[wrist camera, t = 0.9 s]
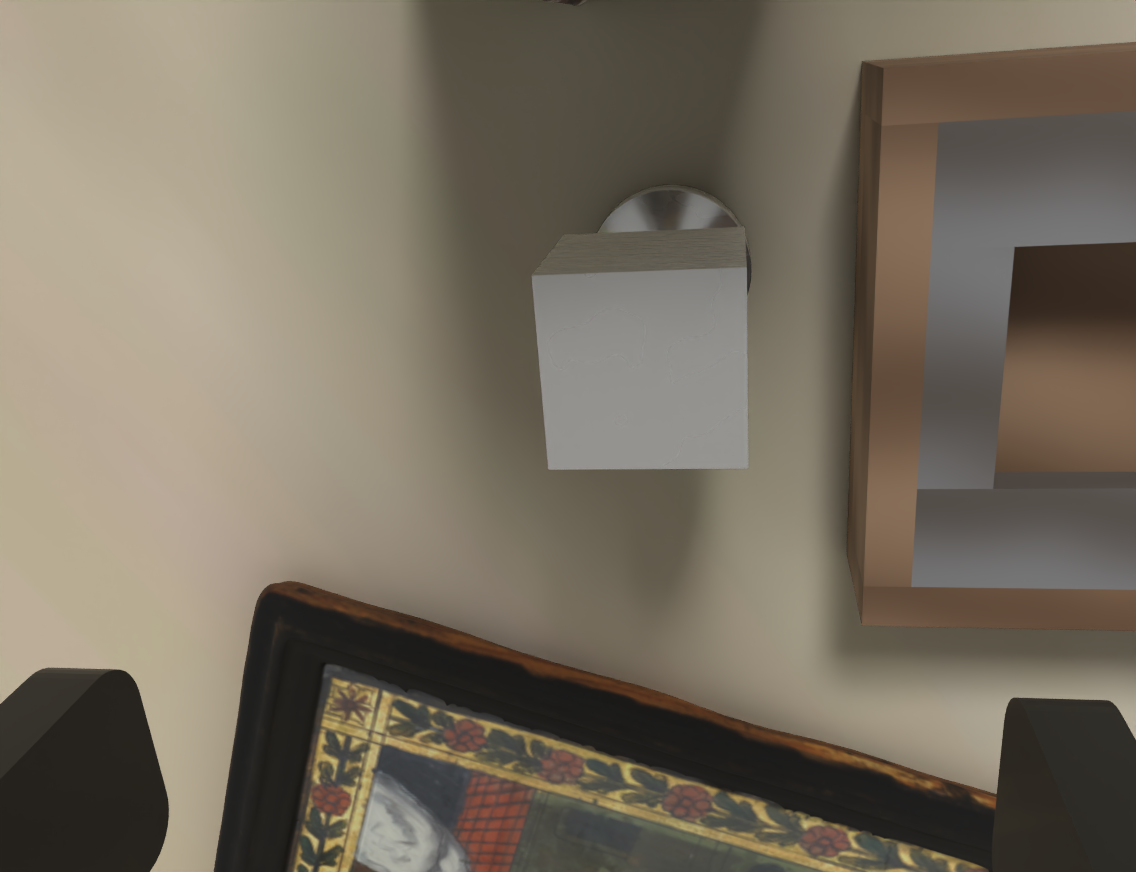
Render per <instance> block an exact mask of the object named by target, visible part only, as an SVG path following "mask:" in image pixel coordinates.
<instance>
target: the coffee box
mask: <svg viewBox="0 0 1136 872" xmlns="http://www.w3.org/2000/svg"><path fill="white" fill-rule="evenodd" d="M543 1H549V2H558V3H566V4H572V5H576V6H579V5H581V4H583V3H584V2H585V1H587V0H543Z"/></svg>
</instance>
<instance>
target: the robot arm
mask: <svg viewBox="0 0 1136 872" xmlns="http://www.w3.org/2000/svg"><path fill="white" fill-rule="evenodd" d="M168 818H169V805H168V797H167V792H166V789H165V785H164V781H163V777H162V774H161V770H160V766H159V763H158V759H157V755H156V752H155V748H154V744H153V740H152V737H151V733H150V729H149V726H148V722H147V718H146V715H145V711H144V707H143V703H142V700H141V696H140V692H139V690H138V687H137V684H136V683H135V681H134V679H133V678H132V677H131V676H130V675H129V674H128V673H127V672H125V671H122V670H113V669H78V668H45V669H41V670H39V671H37V672H35V673H34V674H33V675H32V676H30V677H29V678H28V679H27V680H26V681H25V682H24V683H23V684H21V685H20V686H19V687H18V688H17V689H16V690H15V691H14V692H13V693H12V694H11V695H10V696H9V697H7V698H6V699H5V700H4V701H3V702H2V703H1V704H0V872H150V870H151V869H152V867H153V866H154V864H155V862H156V861H157V858H158V856H159V854H160V852H161V849H162V847H163V844H164V840H165V836H166V832H167V827H168ZM992 871H993V872H1136V740H1135V738H1134V736H1133V734H1132V732H1131V731H1130V729H1129V727H1128V725H1127V723H1126V722H1125V720H1124V718H1123V716H1122V715H1121V713H1120V711H1119V710H1118V708H1117V707H1116V706H1115V705H1114V704H1113V703H1112V702H1110V701H1107V700H1074V699H1039V698H1012V699H1011V700H1010V702H1009V703H1008V706H1007V709H1006V714H1005V720H1004V729H1003V739H1002V749H1001V759H1000V769H999V778H998V788H997V798H996V808H995V818H994V828H993V838H992Z"/></svg>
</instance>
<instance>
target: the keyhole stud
mask: <svg viewBox="0 0 1136 872" xmlns="http://www.w3.org/2000/svg"><path fill="white" fill-rule="evenodd" d="M750 282H751V260H750V250H749V245H748V241H747V238H746V235H745V227H741V225H740V223H739V221H738V220H737V218H736V217H735V216H734V214H733V213H732V212H731V211H730V210H729V209H728V208H727V207H726V206H725V205H724V204H723V203H722V202H720V201H719V200H718V199H716V198H715V197H713V196H711V195H710V194H708V193H706V192H703V191H701V190H699V189H695V188H692V187H688V186H682V185H662V186H655V187H651V188H647V189H645V190H642V191H640V192H637V193H635V194H633V195H632V196H630V197H628V198H627V199H625V200H624V201H623V202H621V203H620V204H619V205H618V206H617V207H616V208H615V209H614V210H613V211H612V212H611V213H610V214H609V216H608V217H607V218H606V219H605V221H604V222H603V224H602V226H601V227H600V229H599V231H598V232H597V233H592V234H570V235H563V236H562V238H561V239H560V240H559V242H558V243H557V244H556V245H555V247H554V248H553V249H552V250H551V252H550V253H549V254H548V255H547V257H546V258H545V259H544V260H543V262H542V263H541V264H540V265H539V267H538V268H537V269H536V271H535V272H534V273H533V274H532V288H533V299H534V311H535V322H536V334H537V345H538V357H539V368H540V380H541V391H542V403H543V414H544V426H545V437H546V449H547V460H548V470H592V469H748V357H747V295H748V292H749V287H750Z"/></svg>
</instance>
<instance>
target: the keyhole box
mask: <svg viewBox="0 0 1136 872" xmlns="http://www.w3.org/2000/svg"><path fill="white" fill-rule="evenodd" d="M847 557H848V562H849V566H850V571H851V576H852V581H853V585H854V590H855V595H856V600H857V604H858V609H859V614H860V619H861V623H862V626H904V627H958V628H1011V629H1064V630H1117V631H1136V42H1130V43H1116V44H1101V45H1087V46H1073V47H1059V48H1044V49H1030V50H1016V51H1002V52H987V53H973V54H959V55H945V56H930V57H916V58H902V59H888V60H873V61H862V90H861V121H860V153H859V184H858V216H857V247H856V279H855V310H854V342H853V374H852V405H851V437H850V468H849V500H848V531H847Z"/></svg>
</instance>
